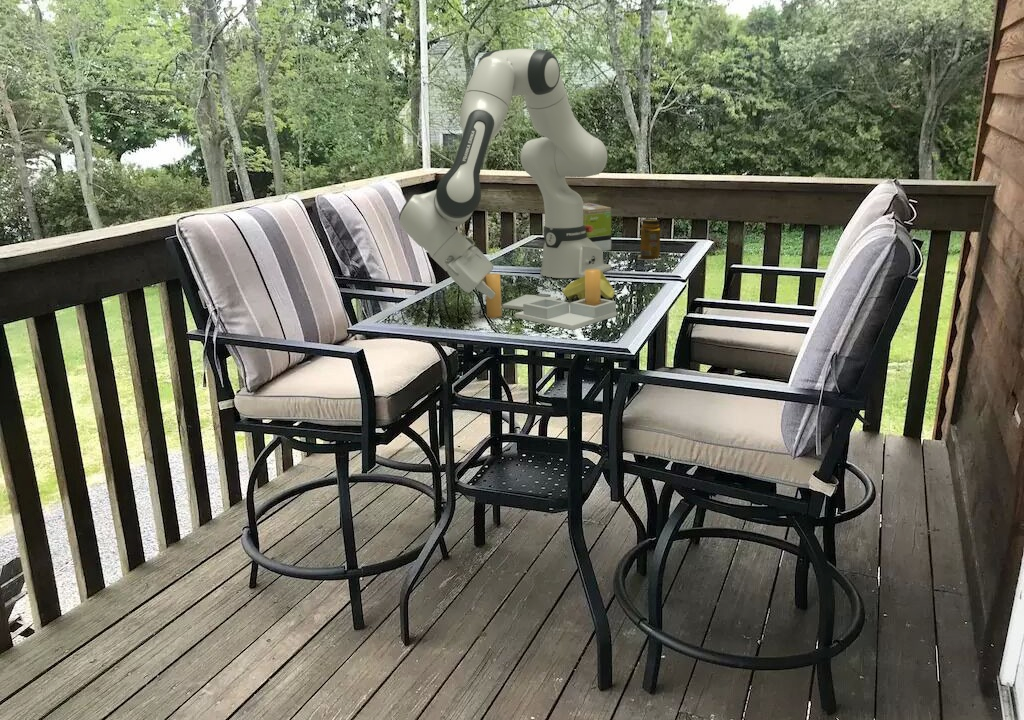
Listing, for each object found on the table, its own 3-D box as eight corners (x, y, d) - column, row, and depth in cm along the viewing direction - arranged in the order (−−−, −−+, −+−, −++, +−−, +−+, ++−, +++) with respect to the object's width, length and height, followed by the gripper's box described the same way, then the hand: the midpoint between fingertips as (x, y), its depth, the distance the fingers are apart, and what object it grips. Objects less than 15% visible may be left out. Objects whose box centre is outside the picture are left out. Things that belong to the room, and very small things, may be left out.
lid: (528, 296, 215) (528, 292, 214) (562, 299, 210) (562, 295, 209) (502, 307, 204) (502, 303, 203) (537, 311, 199) (537, 307, 198)
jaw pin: (494, 313, 198) (492, 272, 195) (505, 315, 196) (503, 274, 193) (483, 316, 196) (481, 275, 193) (494, 318, 194) (492, 277, 191)
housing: (559, 304, 205) (559, 261, 201) (616, 315, 192) (617, 269, 189) (515, 317, 194) (513, 271, 191) (572, 330, 182) (571, 281, 178)
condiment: (661, 255, 264) (662, 218, 260) (660, 260, 256) (661, 222, 252) (638, 255, 265) (638, 218, 261) (637, 260, 257) (637, 222, 253)
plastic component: (569, 282, 218) (603, 266, 215) (581, 307, 219) (615, 291, 216) (559, 294, 199) (596, 276, 197) (572, 321, 200) (609, 304, 197)
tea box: (564, 247, 285) (564, 204, 280) (589, 244, 288) (589, 202, 284) (586, 253, 271) (586, 208, 267) (612, 250, 275) (612, 206, 271)
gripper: (451, 251, 182) (496, 294, 183) (472, 236, 201) (512, 276, 203) (433, 271, 184) (478, 313, 186) (455, 254, 204) (495, 293, 205)
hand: (496, 294), depth 194 cm, fingers open, 4 cm apart
